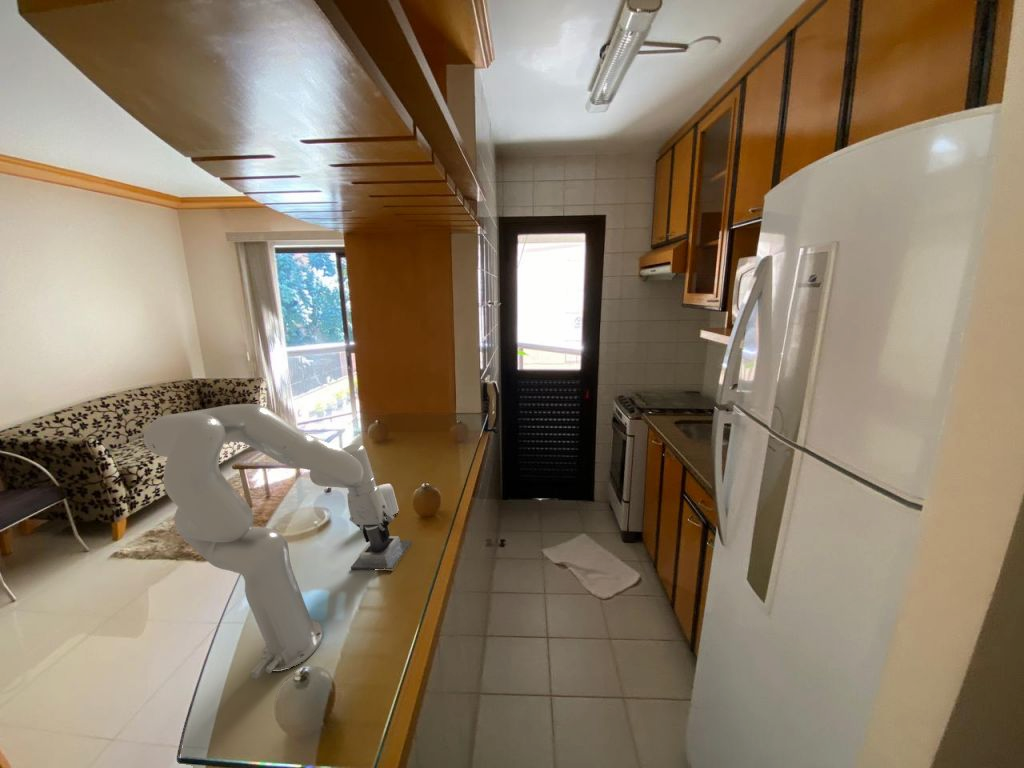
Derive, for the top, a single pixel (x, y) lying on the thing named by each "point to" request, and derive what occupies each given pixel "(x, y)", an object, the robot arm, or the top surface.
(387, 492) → the photo printer
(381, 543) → the lens
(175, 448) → the robot arm
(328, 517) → the top surface
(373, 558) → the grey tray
